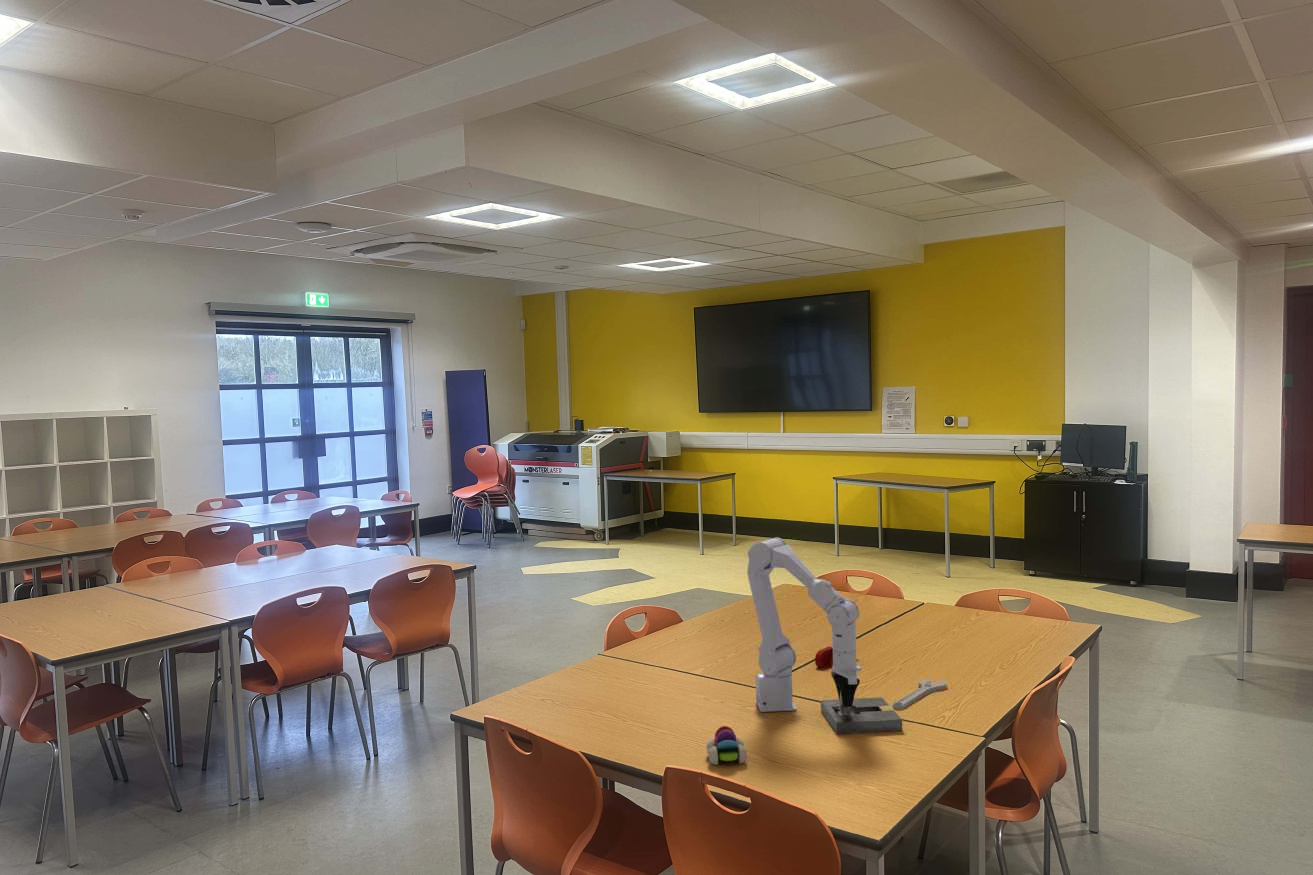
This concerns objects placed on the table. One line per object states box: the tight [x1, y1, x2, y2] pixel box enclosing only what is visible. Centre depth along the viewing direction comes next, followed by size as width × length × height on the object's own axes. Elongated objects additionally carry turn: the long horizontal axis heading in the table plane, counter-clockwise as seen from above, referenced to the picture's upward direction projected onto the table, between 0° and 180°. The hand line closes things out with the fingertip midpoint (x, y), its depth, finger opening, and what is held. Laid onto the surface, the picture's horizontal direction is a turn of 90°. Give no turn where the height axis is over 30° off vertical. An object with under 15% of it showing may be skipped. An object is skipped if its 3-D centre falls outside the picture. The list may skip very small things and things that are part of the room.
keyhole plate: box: [820, 696, 903, 735], centre depth 215 cm, size 16×16×3 cm
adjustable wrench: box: [892, 678, 947, 711], centre depth 232 cm, size 25×6×2 cm, turn 133°
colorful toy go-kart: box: [706, 725, 748, 766], centre depth 194 cm, size 8×10×7 cm
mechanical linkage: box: [814, 646, 833, 671], centre depth 263 cm, size 16×7×5 cm, turn 137°
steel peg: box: [837, 692, 855, 715], centre depth 215 cm, size 4×4×8 cm
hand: (846, 704), depth 215 cm, fingers closed on steel peg, 3 cm apart
